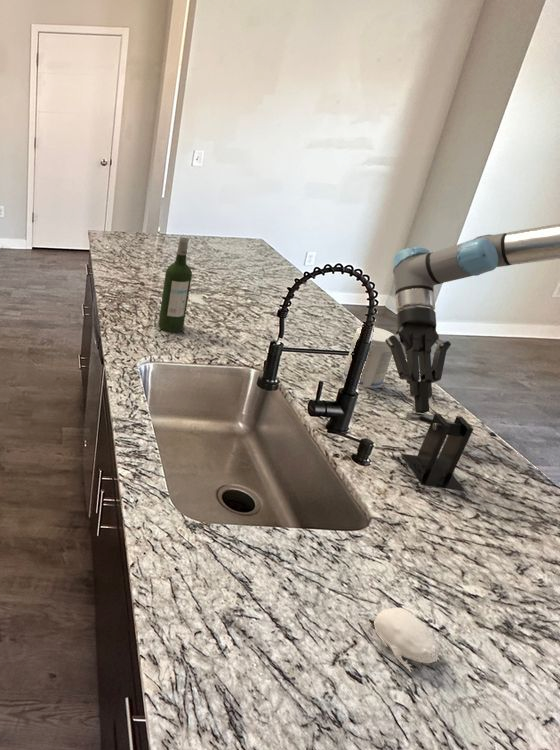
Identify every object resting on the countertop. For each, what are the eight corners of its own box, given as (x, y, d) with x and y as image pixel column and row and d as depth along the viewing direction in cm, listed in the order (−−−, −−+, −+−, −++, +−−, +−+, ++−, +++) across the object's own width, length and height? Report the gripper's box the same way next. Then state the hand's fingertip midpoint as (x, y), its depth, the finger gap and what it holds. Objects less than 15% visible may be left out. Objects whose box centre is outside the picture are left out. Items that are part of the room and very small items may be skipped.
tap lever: (405, 420, 119) (407, 410, 119) (430, 423, 118) (431, 413, 118) (440, 434, 106) (441, 422, 105) (467, 437, 105) (469, 425, 105)
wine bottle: (174, 320, 178) (188, 232, 165) (187, 331, 171) (203, 239, 158) (153, 323, 176) (166, 233, 163) (165, 333, 169) (179, 241, 156)
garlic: (447, 663, 75) (456, 646, 74) (409, 676, 73) (419, 659, 72) (398, 613, 82) (406, 596, 80) (363, 624, 80) (371, 607, 79)
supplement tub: (373, 375, 149) (390, 328, 143) (386, 393, 141) (404, 343, 135) (336, 371, 151) (351, 324, 144) (347, 388, 142) (363, 339, 136)
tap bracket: (399, 457, 117) (420, 404, 111) (439, 463, 116) (463, 409, 110) (419, 489, 108) (444, 433, 102) (462, 495, 107) (490, 439, 101)
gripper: (436, 320, 127) (444, 419, 119) (377, 314, 129) (381, 411, 121) (455, 308, 120) (465, 412, 112) (393, 302, 122) (399, 404, 114)
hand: (422, 411), depth 117 cm, fingers closed
